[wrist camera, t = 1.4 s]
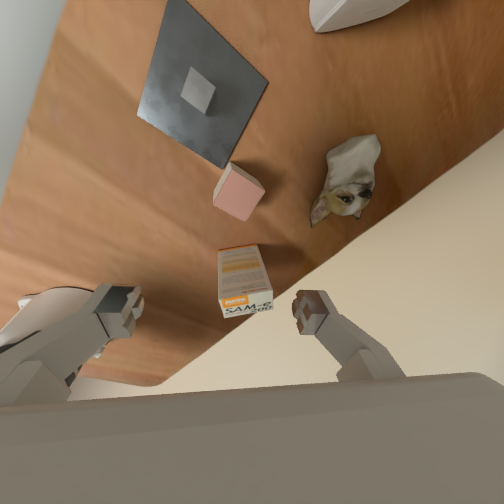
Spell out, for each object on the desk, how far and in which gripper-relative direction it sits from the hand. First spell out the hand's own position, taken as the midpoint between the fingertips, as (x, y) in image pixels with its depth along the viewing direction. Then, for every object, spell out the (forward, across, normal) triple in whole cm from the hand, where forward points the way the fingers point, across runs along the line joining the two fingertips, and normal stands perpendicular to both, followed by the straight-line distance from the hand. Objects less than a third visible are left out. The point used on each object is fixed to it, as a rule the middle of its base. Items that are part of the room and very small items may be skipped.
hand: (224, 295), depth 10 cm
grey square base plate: (+24, +4, -10) cm, 26 cm away
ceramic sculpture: (+25, -19, -2) cm, 32 cm away
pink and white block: (+24, -2, 0) cm, 24 cm away
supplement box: (+24, -4, +15) cm, 29 cm away
